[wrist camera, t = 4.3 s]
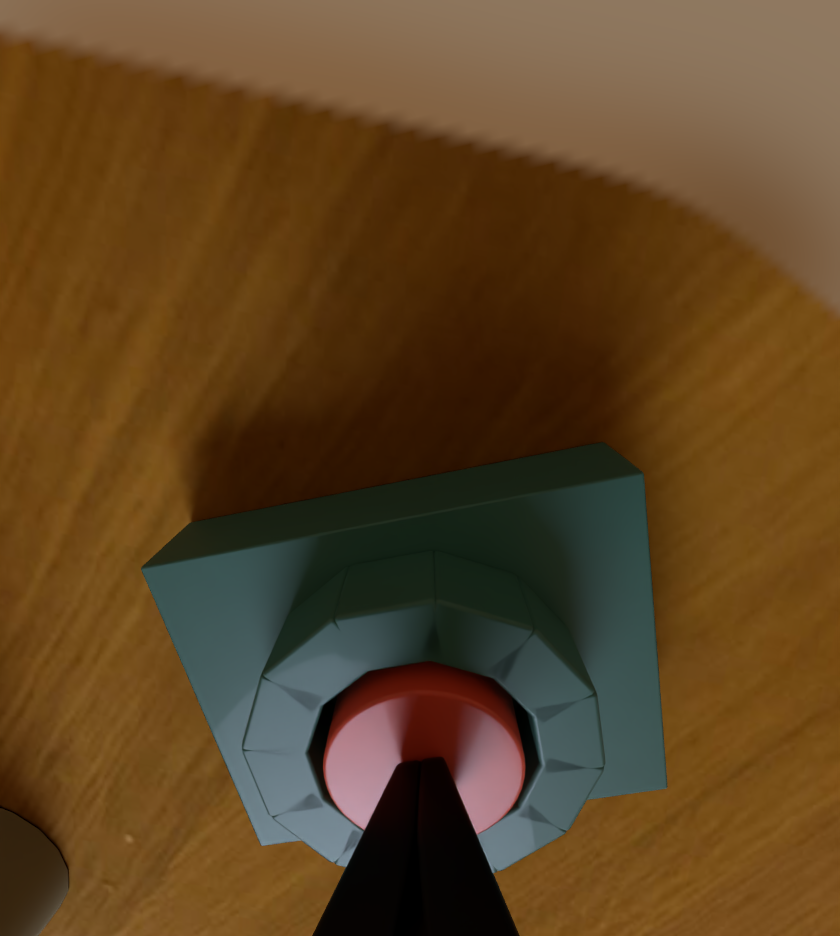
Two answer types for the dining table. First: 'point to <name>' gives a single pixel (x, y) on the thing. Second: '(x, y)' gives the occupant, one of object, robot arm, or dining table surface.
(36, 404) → the dining table surface
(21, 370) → the dining table surface
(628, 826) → the dining table surface
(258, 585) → the button block
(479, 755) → the button
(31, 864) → the brown pawn
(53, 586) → the dining table surface
